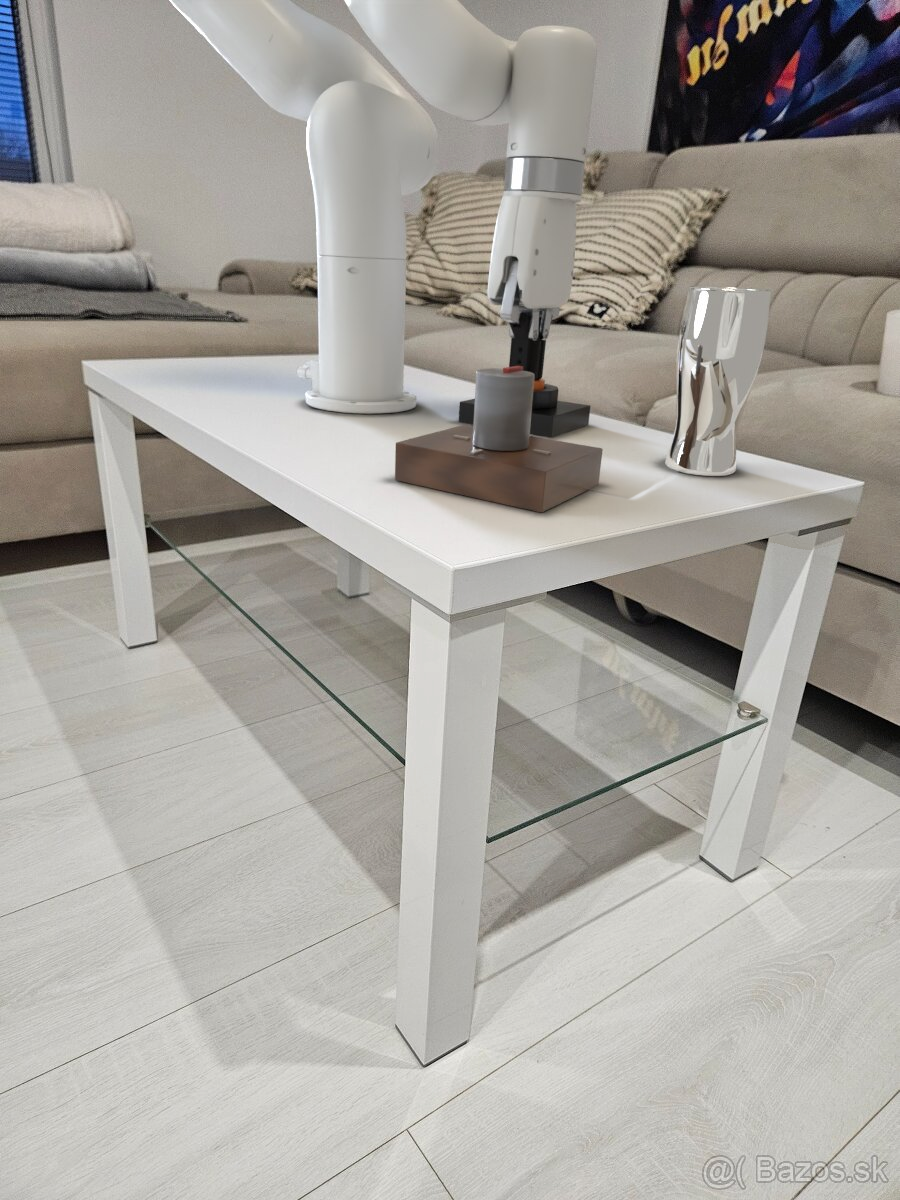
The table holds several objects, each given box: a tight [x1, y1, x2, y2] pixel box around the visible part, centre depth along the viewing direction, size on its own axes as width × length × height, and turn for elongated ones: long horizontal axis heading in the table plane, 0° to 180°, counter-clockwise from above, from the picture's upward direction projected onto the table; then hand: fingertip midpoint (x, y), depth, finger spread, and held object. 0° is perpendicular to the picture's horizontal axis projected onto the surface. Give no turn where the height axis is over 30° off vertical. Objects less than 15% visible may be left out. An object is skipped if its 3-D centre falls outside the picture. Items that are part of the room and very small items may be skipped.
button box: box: [458, 383, 591, 439], centre depth 88 cm, size 11×9×4 cm
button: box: [533, 378, 546, 390], centre depth 87 cm, size 4×4×2 cm
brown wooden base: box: [394, 424, 604, 514], centre depth 65 cm, size 13×10×3 cm
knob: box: [472, 366, 535, 451], centre depth 63 cm, size 4×4×6 cm
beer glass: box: [664, 285, 773, 477], centre depth 70 cm, size 7×7×15 cm
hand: (525, 378), depth 87 cm, fingers closed
